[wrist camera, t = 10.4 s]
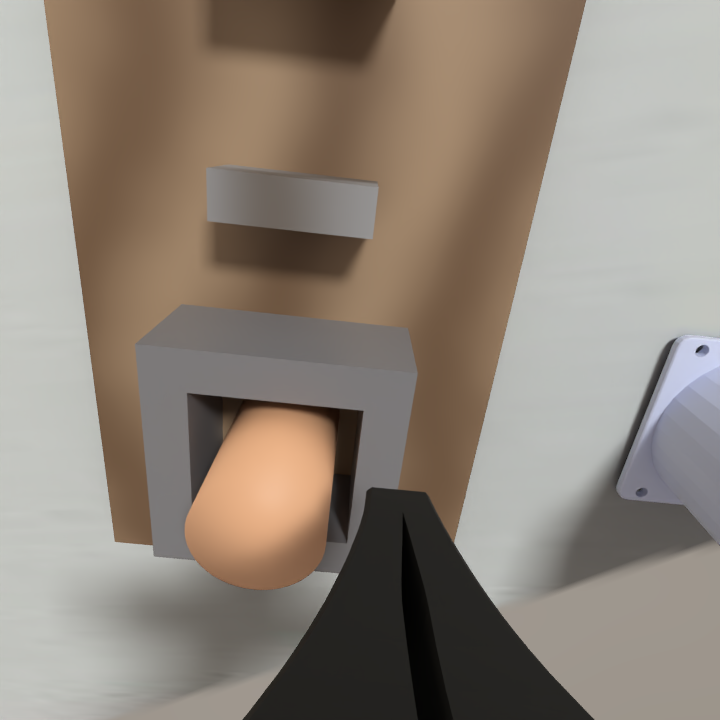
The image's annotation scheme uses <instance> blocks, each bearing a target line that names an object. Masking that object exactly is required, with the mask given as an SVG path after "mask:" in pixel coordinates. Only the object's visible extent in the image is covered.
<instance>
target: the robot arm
mask: <svg viewBox="0 0 720 720" xmlns="http://www.w3.org/2000/svg"><path fill="white" fill-rule="evenodd" d="M701 345H703V348H702V349H701V351H699V352H698V353H695V352H696V349H697V348H698V347H699V346H701ZM640 488H642V489H641V490H640V491H637V490H638V489H640ZM616 490H617V492H618V494H619V495H620V496H621V497H622V498H623V499H627V500H637V501H648V502H658V503H668V504H678V505H685V507H686V508H687V509H688V510H689V511H690V512H691V513H692V515H693V516H694V517H695V518H696V519H697V520H698V521H699V523H700V524H701V525H702V526H703V527H704V528H705V529H706V531H707V532H708V533H709V534H710V535H711V536H712V537H713V539H714V540H715V541H716V542H717V543H718V544H719V545H720V338H715V337H706V336H697V335H683V336H681V337H679V338H678V339H677V340H675V342H674V343H673V345H672V348H671V350H670V353H669V355H668V358H667V360H666V363H665V365H664V368H663V370H662V373H661V375H660V378H659V380H658V383H657V385H656V388H655V390H654V393H653V395H652V398H651V400H650V403H649V405H648V408H647V410H646V413H645V415H644V418H643V420H642V423H641V425H640V428H639V430H638V433H637V435H636V438H635V440H634V443H633V445H632V448H631V450H630V453H629V455H628V458H627V460H626V463H625V465H624V468H623V470H622V473H621V475H620V478H619V480H618V483H617V485H616ZM243 720H594V719H593V718H592V717H591V716H590V715H589V714H588V713H587V712H586V711H585V710H584V709H583V707H582V706H580V704H579V703H578V702H577V701H576V700H575V699H574V698H573V697H572V696H571V695H570V694H569V693H568V692H567V691H566V690H565V689H564V688H563V687H562V686H561V684H560V683H559V682H558V681H557V680H555V678H554V677H553V676H552V675H551V674H550V673H549V672H548V671H547V669H546V668H545V667H544V666H543V665H542V664H541V663H540V661H539V660H538V659H537V658H536V657H535V656H534V654H533V653H532V652H531V651H530V650H529V649H528V648H527V646H526V645H525V644H524V643H523V641H522V640H521V639H520V638H519V636H518V635H517V634H516V633H515V631H514V630H513V629H512V628H511V626H510V625H509V624H508V623H507V621H506V620H505V619H504V617H503V616H502V615H501V613H500V612H499V611H498V609H497V608H496V607H495V605H494V604H493V602H492V601H491V600H490V598H489V597H488V595H487V594H486V592H485V591H484V590H483V588H482V587H481V585H480V584H479V582H478V581H477V579H476V578H475V576H474V575H473V573H472V572H471V570H470V569H469V567H468V565H467V564H466V562H465V561H464V559H463V557H462V556H461V554H460V553H459V551H458V549H457V548H456V546H455V544H454V543H453V541H452V539H451V537H450V536H449V534H448V532H447V530H446V528H445V527H444V525H443V523H442V521H441V519H440V517H439V515H438V514H437V512H436V510H435V508H434V506H433V504H432V502H431V499H430V497H429V496H428V495H427V493H426V492H420V491H409V490H398V489H387V488H376V487H371V488H370V489H368V490H367V491H366V498H365V506H364V512H363V516H362V519H361V522H360V525H359V528H358V531H357V534H356V536H355V539H354V541H353V544H352V546H351V549H350V551H349V554H348V556H347V558H346V561H345V563H344V565H343V567H342V569H341V571H340V573H339V575H338V577H337V579H336V581H335V583H334V585H333V587H332V589H331V591H330V593H329V595H328V596H327V598H326V600H325V602H324V604H323V605H322V607H321V609H320V611H319V612H318V614H317V616H316V617H315V619H314V621H313V622H312V624H311V626H310V627H309V629H308V630H307V632H306V633H305V635H304V637H303V638H302V640H301V641H300V643H299V644H298V646H297V647H296V649H295V650H294V652H293V653H292V655H291V656H290V658H289V659H288V661H287V662H286V663H285V665H284V666H283V668H282V669H281V670H280V672H279V673H278V675H277V676H276V677H275V678H274V680H273V681H272V682H271V684H270V685H269V686H268V688H267V689H266V690H265V692H264V693H263V694H262V696H261V697H260V698H259V699H258V701H257V702H256V704H255V705H254V706H253V707H252V709H251V710H250V711H249V713H248V714H247V715H246V716H245V717H244V719H243Z"/></svg>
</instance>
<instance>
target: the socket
mask: <svg viewBox="0 0 720 720" xmlns="http://www.w3.org/2000/svg"><path fill="white" fill-rule="evenodd" d="M135 351H136V362H137V373H138V384H139V396H140V407H141V418H142V429H143V440H144V451H145V462H146V474H147V485H148V496H149V507H150V518H151V529H152V540H153V551H154V556H156V557H166V558H177V559H188V560H195V558H194V557H193V555H192V554H191V552H190V550H189V548H188V546H187V543H186V539H185V522H186V518H187V515H188V513H189V510H190V508H191V506H192V504H193V502H194V500H195V498H196V496H197V494H198V492H199V490H200V488H201V486H202V484H203V482H204V480H205V478H206V476H207V474H208V472H209V470H210V468H211V466H212V463H213V461H214V459H215V457H216V455H217V453H218V451H219V449H220V447H221V445H222V443H223V397H232V398H242V399H252V400H262V401H272V402H281V403H291V404H301V405H311V406H321V407H331V408H341V409H351V410H359V411H358V419H357V428H356V436H355V444H354V453H353V461H352V469H351V475H343V474H333V484H332V493H331V502H330V512H329V521H328V531H327V540H326V548H325V553H324V555H323V558H322V560H321V562H320V563H319V565H318V566H317V567H316V569H315V570H314V571H320V572H331V573H340V571H341V569H342V567H343V565H344V563H345V561H346V558H347V556H348V554H349V551H350V549H351V546H352V544H353V541H354V539H355V536H356V534H357V531H358V528H359V525H360V522H361V519H362V516H363V512H364V506H365V498H366V491H367V490H368V489H370V488H371V487H376V488H387V489H398V485H399V480H400V474H401V468H402V462H403V456H404V451H405V445H406V439H407V433H408V427H409V421H410V416H411V410H412V404H413V398H414V392H415V386H416V381H417V375H418V372H417V367H416V363H415V358H414V353H413V349H412V344H411V339H410V335H409V330H408V328H403V327H393V326H384V325H374V324H365V323H355V322H346V321H336V320H327V319H318V318H308V317H299V316H289V315H280V314H270V313H261V312H251V311H242V310H233V309H223V308H214V307H204V306H195V305H185V304H181V305H180V306H179V307H178V308H177V309H175V310H174V311H173V312H172V313H171V314H170V315H168V316H167V317H166V318H165V319H164V320H162V321H161V322H160V323H159V324H158V325H157V326H155V327H154V328H153V329H152V330H151V331H150V332H148V333H147V334H146V335H145V336H144V337H143V338H141V339H140V340H139V341H138V342H137V343H136V344H135Z"/></svg>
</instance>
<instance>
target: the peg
mask: <svg viewBox="0 0 720 720" xmlns="http://www.w3.org/2000/svg"><path fill="white" fill-rule="evenodd" d="M339 416H340V412H339V408H331V407H321V406H311V405H301V404H291V403H281V402H272V401H262V400H252V399H244V400H243V402H242V404H241V406H240V408H239V410H238V412H237V414H236V416H235V419H234V421H233V423H232V425H231V427H230V429H229V431H228V433H227V435H226V437H225V439H224V441H223V443H222V445H221V447H220V449H219V451H218V453H217V455H216V457H215V459H214V461H213V463H212V466H211V468H210V470H209V472H208V474H207V476H206V478H205V480H204V482H203V484H202V486H201V488H200V490H199V492H198V494H197V496H196V498H195V500H194V502H193V504H192V506H191V508H190V510H189V513H188V515H187V518H186V522H185V539H186V543H187V546H188V548H189V550H190V552H191V554H192V555H193V557H194V558H195V560H196V561H197V562H198V563H199V564H200V566H202V567H203V568H204V569H205V570H206V571H207V572H209V573H210V574H211V575H213V576H215V577H216V578H218V579H220V580H222V581H224V582H226V583H229V584H232V585H235V586H238V587H242V588H247V589H254V590H271V589H278V588H283V587H286V586H290V585H292V584H295V583H297V582H299V581H301V580H303V579H304V578H306V577H307V576H308V575H310V574H311V573H312V572H313V571H314V570H315V569H316V567H317V566H318V565H319V563H320V562H321V560H322V558H323V555H324V553H325V548H326V540H327V531H328V521H329V512H330V502H331V493H332V484H333V474H334V465H335V455H336V446H337V437H338V427H339Z"/></svg>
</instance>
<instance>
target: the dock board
mask: <svg viewBox="0 0 720 720" xmlns="http://www.w3.org/2000/svg"><path fill="white" fill-rule="evenodd" d="M585 3H586V0H44V5H45V13H46V20H47V28H48V36H49V43H50V51H51V58H52V66H53V74H54V81H55V89H56V96H57V104H58V112H59V119H60V127H61V134H62V142H63V150H64V157H65V165H66V173H67V180H68V188H69V195H70V203H71V211H72V218H73V226H74V233H75V241H76V249H77V256H78V264H79V271H80V279H81V287H82V294H83V302H84V309H85V317H86V325H87V332H88V340H89V348H90V355H91V363H92V370H93V378H94V386H95V393H96V401H97V408H98V416H99V424H100V431H101V439H102V446H103V454H104V462H105V469H106V477H107V484H108V492H109V500H110V507H111V515H112V523H113V530H114V538H115V542H122V543H133V544H144V545H153V540H152V529H151V518H150V507H149V496H148V485H147V474H146V462H145V451H144V440H143V429H142V418H141V407H140V396H139V384H138V373H137V362H136V351H135V344H136V343H137V342H138V341H139V340H140V339H141V338H143V337H144V336H145V335H146V334H147V333H148V332H150V331H151V330H152V329H153V328H154V327H155V326H157V325H158V324H159V323H160V322H161V321H162V320H164V319H165V318H166V317H167V316H168V315H170V314H171V313H172V312H173V311H174V310H175V309H177V308H178V307H179V306H180V305H181V304H185V305H195V306H204V307H214V308H223V309H233V310H242V311H251V312H261V313H270V314H280V315H289V316H299V317H308V318H318V319H327V320H336V321H346V322H355V323H365V324H374V325H384V326H393V327H403V328H408V330H409V335H410V339H411V344H412V349H413V353H414V358H415V363H416V367H417V372H418V375H417V381H416V386H415V392H414V398H413V404H412V410H411V416H410V421H409V427H408V433H407V439H406V445H405V451H404V456H403V462H402V468H401V474H400V480H399V485H398V490H409V491H420V492H426V493H427V495H428V496H429V497H430V499H431V502H432V504H433V506H434V508H435V510H436V512H437V514H438V515H439V517H440V519H441V521H442V523H443V525H444V527H445V528H446V530H447V532H448V534H449V536H450V537H451V539H452V541H453V543H454V540H455V536H456V532H457V528H458V523H459V519H460V515H461V511H462V507H463V503H464V499H465V495H466V491H467V487H468V482H469V478H470V474H471V470H472V466H473V462H474V458H475V454H476V450H477V446H478V441H479V437H480V433H481V429H482V425H483V421H484V417H485V413H486V409H487V405H488V400H489V396H490V392H491V388H492V384H493V380H494V376H495V372H496V368H497V364H498V359H499V355H500V351H501V347H502V343H503V339H504V335H505V331H506V327H507V323H508V318H509V314H510V310H511V306H512V302H513V298H514V294H515V290H516V286H517V282H518V277H519V273H520V269H521V265H522V261H523V257H524V253H525V249H526V245H527V241H528V236H529V232H530V228H531V224H532V220H533V216H534V212H535V208H536V204H537V200H538V195H539V191H540V187H541V183H542V179H543V175H544V171H545V167H546V163H547V159H548V154H549V150H550V146H551V142H552V138H553V134H554V130H555V126H556V122H557V118H558V113H559V109H560V105H561V101H562V97H563V93H564V89H565V85H566V81H567V77H568V72H569V68H570V64H571V60H572V56H573V52H574V48H575V44H576V40H577V36H578V31H579V27H580V23H581V19H582V15H583V11H584V7H585ZM243 400H244V399H242V398H232V397H223V441H224V439H225V437H226V435H227V433H228V431H229V429H230V427H231V425H232V423H233V421H234V419H235V416H236V414H237V412H238V410H239V408H240V406H241V404H242V402H243ZM358 411H359V410H351V409H341V408H339V412H340V416H339V427H338V437H337V446H336V455H335V465H334V474H343V475H351V469H352V461H353V453H354V444H355V436H356V428H357V419H358Z"/></svg>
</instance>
